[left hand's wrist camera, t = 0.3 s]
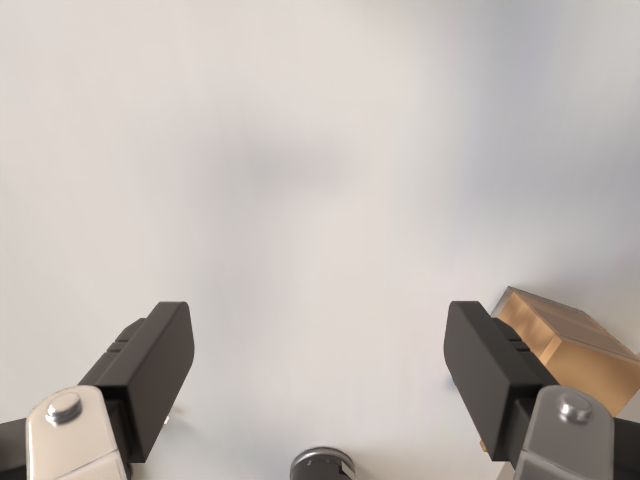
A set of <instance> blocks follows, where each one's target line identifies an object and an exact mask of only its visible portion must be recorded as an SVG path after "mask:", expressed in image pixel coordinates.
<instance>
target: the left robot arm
mask: <svg viewBox="0 0 640 480" xmlns="http://www.w3.org/2000/svg"><path fill="white" fill-rule="evenodd" d="M444 357H445V362H446V365H447V367H448V369H449V371H450V373H451V375H452V377H453V380H454V382H455V384H456V386H457V388H458V390H459V392H460V394H461V396H462V399H463V401H464V403H465V405H466V407H467V409H468V411H469V413H470V415H471V418H472V420H473V422H474V424H475V426H476V428H477V430H478V432H479V434H480V437H481V439H482V441H483V443H484V445H485V447H486V449H487V451H488V454H489V456H490V458H491V460H492V461H510V462H511V464H512V466H513V468H514V470H515V474H514V477H513V480H640V423H636V422H632V421H627V420H623V419H619V418H615V417H612V415H611V413H610V412H609V411H608V409H607V408H606V407H605V406H604V405H603V404H601V403H600V402H599V401H598V400H596V399H595V398H593V397H592V396H590V395H588V394H586V393H584V392H582V391H580V390H577V389H574V388H571V387H567V386H561V385H560V384H559V383H558V381H557V380H556V379H555V378H554V377H553V375H552V374H551V373H550V372H549V371H548V369H547V368H546V367H545V366H544V365H543V364H542V362H541V361H540V360H539V359H538V358H537V356H536V355H535V354H534V353H533V352H531V351H530V348H529V347H528V346H527V344H526V343H525V342H523V341H522V338H521V337H520V336H519V335H518V334H517V332H516V331H515V330H514V329H513V328H512V327H511V326H509V325H508V324H506V323H505V322H503V321H502V320H500V319H499V318H497V317H490V315H489V314H488V313H487V311H486V310H485V309H484V308H483V306H482V305H481V304H480V303H479V302H478V301H452V302H451V303H450V306H449V311H448V318H447V325H446V332H445V339H444ZM193 358H194V339H193V332H192V325H191V318H190V312H189V307H188V304H187V303H186V302H159V303H158V304H157V305H156V307H155V308H154V309H153V310H152V312H151V313H150V314H149V316H148V317H147V318H140V319H139V320H137V321H136V322H134V323H133V324H131V325H129V326H128V327H126V328H125V329H124V330H123V331H122V333H121V334H120V335H119V336H118V337H117V339H116V340H115V343H112V345H111V346H110V347H109V348H108V349H107V352H106V353H104V354H103V355H102V356H101V358H100V359H99V360H98V361H97V362H96V363H95V365H94V366H93V367H92V368H91V369H90V371H89V372H88V373H87V374H86V375H85V377H84V378H83V379H82V380H81V381H80V382H79V384H78V385H77V386H73V387H69V388H66V389H63V390H60V391H58V392H56V393H54V394H52V395H50V396H48V397H47V398H45V399H44V400H42V401H41V402H40V403H39V404H37V405H36V406H35V407H34V408H33V409H32V411H31V412H30V413H29V415H28V417H27V418H23V419H19V420H15V421H11V422H6V423H2V424H0V480H127V477H126V474H125V470H124V467H125V466H126V464H127V463H145V462H146V460H147V458H148V455H149V453H150V451H151V449H152V447H153V445H154V443H155V441H156V439H157V437H158V435H159V432H160V430H161V428H162V426H163V424H164V422H165V420H166V418H167V416H168V414H169V412H170V409H171V407H172V405H173V403H174V401H175V399H176V397H177V395H178V393H179V391H180V389H181V387H182V384H183V382H184V380H185V378H186V376H187V374H188V372H189V370H190V368H191V365H192V363H193ZM290 480H356V478H355V469H354V465H353V463H352V461H351V460H350V458H349V457H347V456H346V455H345V454H343V453H341V452H339V451H337V450H334V449H329V448H317V449H312V450H308V451H306V452H304V453H302V454H300V455H299V456H298V457H297V458H296V459H295V460H294V461H293V463H292V465H291V470H290Z"/></svg>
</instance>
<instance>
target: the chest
mask: <svg viewBox="0 0 640 480" xmlns="http://www.w3.org/2000/svg"><path fill="white" fill-rule="evenodd" d="M490 317H497V318H499V319H500V320H502V321H503V322H505V323H506V324H508V325H509V326H511V327H512V328H513V329H514V330H515V331H516V332H517V334H518V335H519V336H520V337H521V338H522V341H523V342H525V343H526V344H527V346H528V347H529V348H530V351H531V352H533V353H534V354H535V355H536V356H537V358H539V357H540V355H541V354H542V353H543V351H544V350H545V348H546V347H547V345H548V344H549V343H550V341H551V340H552V338H553V337H554V335H555V334H557V335H560V336H563V337H566V338H569V339H572V340H575V341H578V342H581V343H584V344H588V345H591V346H594V347H597V348H600V349H603V350H606V351H609V352H612V353H615V354H618V355H621V356H624V357H627V358H630V359H633V360H636V361H639V362H640V359H639V358H638V357H637V356H636V355H635V354H633V353H632V352H631V351H630V350H629V349H627V348H626V347H625V346H624V345H623V344H621V343H620V342H619V341H618V340H616V339H615V338H614V337H613V336H612V335H610V334H609V333H608V332H607V331H606V330H604V329H603V328H602V327H601V326H599V325H598V324H597V323H596V322H595V321H593V320H592V319H591V318H590V317H589V316H588V315H586V314H585V313H584V312H583V311H580V310H577V309H574V308H571V307H568V306H565V305H562V304H559V303H556V302H553V301H551V300H548V299H545V298H542V297H539V296H536V295H533V294H530V293H527V292H524V291H521V290H518V289H515V288H512V287H509V286H508V288H507V290H506V291H505V293H504V294H503V296H502V298H501V299H500V301H499V303H498V304H497V306H496V308H495V309H494V311H493V312H492V314H491V316H490ZM452 379H453V378H452ZM453 381H454V380H453ZM454 383H455V382H454ZM455 385H456V384H455ZM458 391H459V390H458ZM459 393H460V392H459ZM460 395H461V394H460ZM461 397H462V396H461ZM466 408H467V407H466ZM467 410H468V409H467ZM468 412H469V411H468ZM469 414H470V413H469ZM470 416H471V415H470ZM473 423H474V422H473ZM474 425H475V424H474ZM475 427H476V426H475ZM476 429H477V428H476ZM477 431H478V430H477ZM478 433H479V432H478ZM479 435H480V434H479Z"/></svg>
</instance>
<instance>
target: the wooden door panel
mask: <svg viewBox="0 0 640 480" xmlns="http://www.w3.org/2000/svg"><path fill="white" fill-rule="evenodd" d="M538 359H539V360H540V361H541V362H542V364H543V365H544V366H545V367H546V368H547V369H548V371H549V372H550V373H551V374H552V375H553V377H554V378H555V379H556V380H557V381H558V383H559V384H560V385H561V386H567V387H571V388H574V389H577V390H580V391H582V392H584V393H586V394H588V395H590V396H592V397H593V398H595V399H596V400H598V401H599V402H600V403H601V404H603V405H604V406H605V407H606V408H607V409H608V411H609V412H610V413H611V415H612V417H616V416H617V414H618V413H619V412H620V411H621V410H622V409H623V407H624V406H625V405H626V404H627V403H628V401H629V400H630V399H631V398H632V397H633V396H634V394H635V393H636V392H637V391H638V390H639V389H640V362H639V361H636V360H633V359H630V358H627V357H624V356H621V355H618V354H615V353H612V352H609V351H606V350H603V349H600V348H597V347H594V346H591V345H588V344H584V343H581V342H578V341H575V340H572V339H569V338H566V337H563V336H560V335H557V334H555V335H554V337H553V338H552V340H551V341H550V343H549V344H548V345H547V347H546V348H545V350H544V351H543V353H542V354H541V355H540V357H539V358H538ZM480 445H481V447H482V449H483V451H485V452H488V451H487V449H486V447H485V445H484V443H483V441H482V440H481V441H480Z"/></svg>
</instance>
